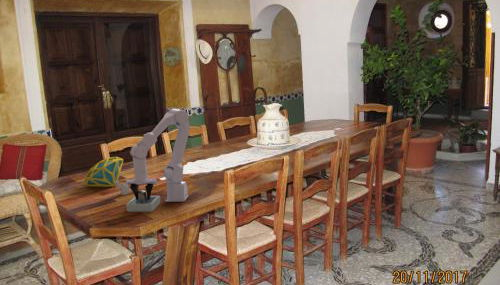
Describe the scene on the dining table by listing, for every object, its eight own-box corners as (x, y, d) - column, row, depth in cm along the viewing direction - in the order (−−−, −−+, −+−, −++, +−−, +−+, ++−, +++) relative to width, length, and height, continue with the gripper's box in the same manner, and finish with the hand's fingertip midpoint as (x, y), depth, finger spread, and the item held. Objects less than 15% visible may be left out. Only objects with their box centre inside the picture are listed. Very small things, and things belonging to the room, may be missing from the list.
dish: (160, 202, 222) (159, 195, 222) (152, 211, 211) (151, 204, 210) (136, 202, 224) (135, 195, 223) (126, 211, 212) (126, 204, 212)
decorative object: (118, 183, 270) (105, 161, 269) (139, 172, 255) (125, 148, 254) (85, 201, 252) (71, 177, 251) (106, 190, 237) (91, 164, 236)
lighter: (127, 192, 241) (126, 177, 240) (129, 192, 240) (128, 178, 239) (116, 196, 236) (114, 181, 234) (118, 196, 235) (116, 181, 233)
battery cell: (149, 203, 219) (146, 188, 217) (146, 206, 215) (143, 191, 213) (141, 204, 219) (138, 189, 218) (138, 207, 216) (135, 191, 214)
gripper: (122, 173, 211) (125, 202, 214) (152, 173, 209) (155, 201, 212) (127, 169, 218) (130, 197, 220) (157, 169, 216) (160, 196, 219)
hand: (143, 199), depth 217 cm, fingers open, 5 cm apart
